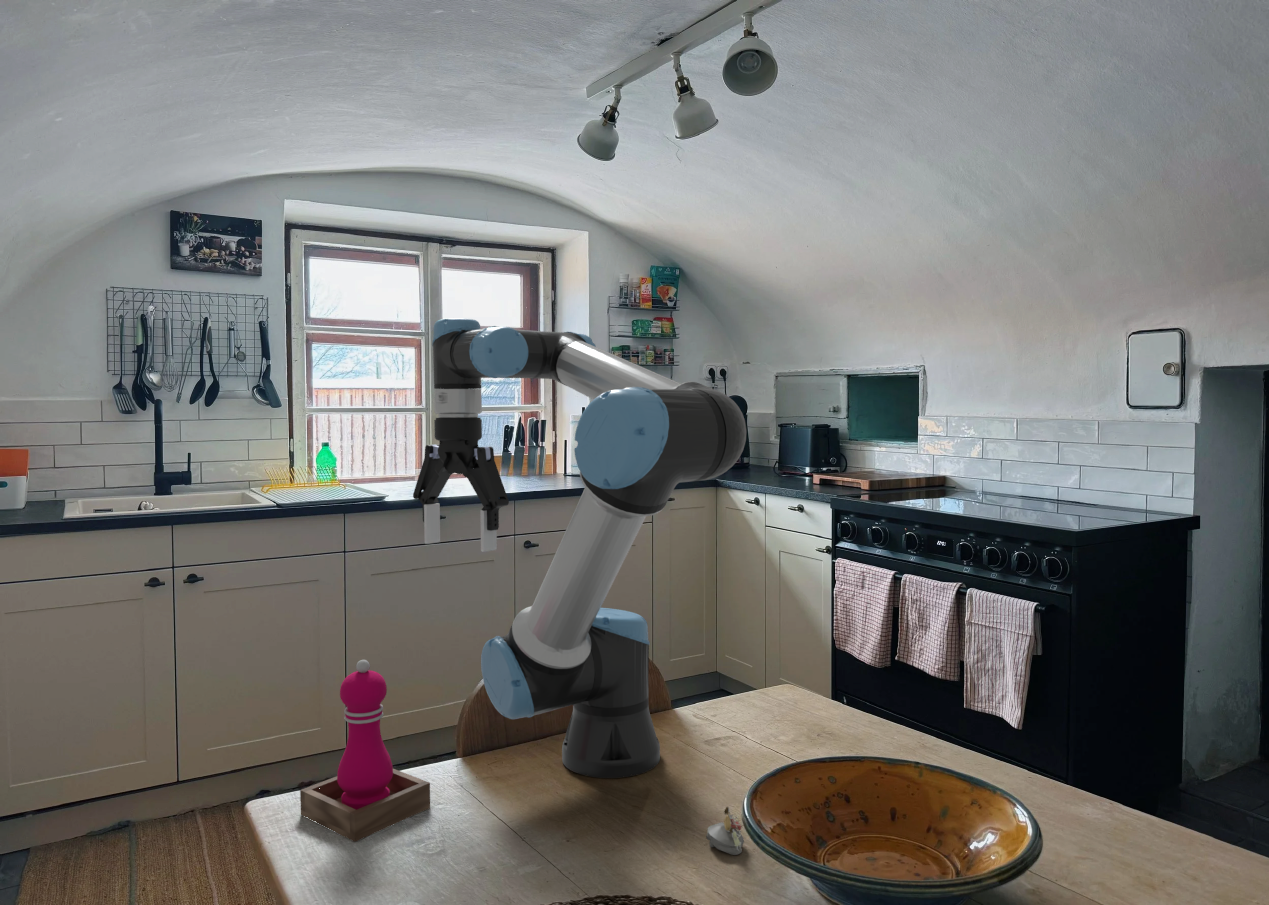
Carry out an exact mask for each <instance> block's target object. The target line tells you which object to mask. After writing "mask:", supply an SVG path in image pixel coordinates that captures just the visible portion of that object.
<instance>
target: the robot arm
mask: <svg viewBox="0 0 1269 905" xmlns="http://www.w3.org/2000/svg"><path fill="white" fill-rule="evenodd" d="M432 337H433V338H432V340H431V341H432V343H431V345H432V357H433V358H432V359H433V360H432V361H433V362H432V363H433V364H432V366H433V367H432V368H433V390H434V392H433V393H434V396H433V399H434V400H433V401H434V413H435V414H436V415H438V417H435V419H434V423H433V425H434V439H435V440H436V441H439V444H426V445H425V448H424V459H423V462H422V466H421V468H420V471H419V474H418V476H417V477H418V478H417V481H416V484H415V488H414V491H413V494H412V497H413V499H414V500H418V501H420V504H422V506H421V507H422V522H423V526H424V527H423V529H424V544H425V545H429V544H436V543H441V509H440V508H441V507H440V503H439V502H440V501H439V499H438V498H439V496H440V495H441V493H442V491H443V490H444V488H445V485H446V484H447V482H448V481H449V479H450V477H451V475H453V474H456V475H462V476H464V477H465V478H467V479H468V480H467V481H468V482H469V483H470V485H471V487H472V489H473V490H474V491H473V492H475V494H476V496H477V498H478V500H479V501H480V503H481V504H482V508H481V509H480V552H483V553H487V552H492V551H497V550H498V548H497V547H498V546H497V544H498V542H497V541H498V536H497V533H498V532H497V530H499V528H500V522H499V518H500V517H499V516H500V515H499V514H500V512H499V511H500V509H501V508H503V507H505V506H508V505H509V503H510V501H509V498H508V495H507V492H506V489H505V486H504V484H503V481H502V478H501V475H500V472H499V469H498V467H497V463H496V462H495V452H494V447H492V446H479V441H480V440H481V439H482V438H483V421H482V420H483V419H481V417H479V414H482V412H483V408H482V406H483V404H482V400H483V398H482V379H491V378H492V379H542V380H543V379H545V380H547V379H548V380H554V381H556V382H557V383H560V384H562V385H563V386H565V387H568V388H570V389H572V390H574V391H576V392H578V393H580V394H581V395H584V396H586V397H588V398H589V399H592V401H590V402H589V404H587V406H586V407H585V409H584V410H583V412H582V414H581V416H580V417H579V420H578V422H577V426H576V428H575V429H576V430H575V434H574V441H575V442H576V443H577V446H576V447H574V449H573V450H574V457H575V460H576V465H577V467H578V470H579V477H580V480H581V483H582V484H583V486H584V489H583V492H582V494H581V496H580V498H579V500H578V502H577V504H576V507H575V509H574V511H573V514H572V516H571V518H570V521H569V522H568V525H567V526H566V530H565V532H564V534H563V536H562V538H561V541H560V542H559V545H558V547H557V549H556V552H555V553H554V557H553V559H552V561H551V563H550V566H549V567H548V570H547V572H546V575H545V576H544V579H543V581H542V583H541V585H540V587H539V590H538V592H537V595H536V596H535V599H534V600H533V604H532V605H531V606H527V607H525V608H523V609H522V610H520V611H519V612H518V613H517V615H516V616H515V617H514V619H513V621H512V624H511V626H510V627H509V631H508V633H507V634H506V635H503V636H500V635H495V636H494V637H493V638H490V639H489V640H487V641H486V642H485V644H484V645H483V647H482V651H481V656H480V667H481V668H480V669H481V675H482V679H483V685H484V688H485V691H486V693H487V696H488V698H489V700H490V702H491V703H492V705H493V707H494V709H495V710H496V711H497V712H498V713H499V714H500V715H502V716H503V717H504V718H507V719H509V720H518V719H522V718H532V717H534V716H536V715H541V714H545V713H548V712H552V711H556V710H560V709H563V708H566V707H569V706H572V713H571V717H570V719H569V723H568V726H567V729H566V733H565V736H564V739H563V742H562V747H561V760H562V764H563V765H564V766H565V767H566V768H567V769H568V770H569V771H572V772H573V773H577V774H578V775H583V776H586V777H591V778H592V777H593V778H599V779H618V778H619V779H620V778H621V779H622V778H628V777H633V776H637V775H641V774H644V773H647V772H649V771H651V770H653V769H654V768H655V767H657V765H658V764H659V763H660V760H661V745H660V741H659V739H658V737H657V734H656V730H655V727H654V723H653V720H652V716H651V714H650V709H649V670H650V669H649V663H650V662H649V659H650V658H649V655H650V648H649V647H650V645H651V643H650V641H649V627H648V622H647V620H646V619H645V618H644V617H643V616H642V615H640V614H638V613H636V612H634V611H633V612H632V611H629V610H624V609H618V608H617V609H616V608H608V607H602V605H603V604H604V602H605V600H606V598H607V595H608V594H609V591H610V589H611V588H612V586H613V584H614V582H615V579H616V577H617V576H618V574H619V571H620V570H621V568H622V565H623V564H624V561H625V559H626V558H627V556H628V554H629V552H630V550H631V548H632V546H633V543H634V541H635V539H636V537H637V535H639V532H640V529H641V527H642V526H643V523H645V522H644V521H645V520H646V517H649V516H655V515H657V514H659V513H660V512H661V511H663V510H664V508H665V507H666V505H667V502H668V501H669V499H670V497H671V496H672V494H673V491H674V489H675V488H676V486H677V485H678V484H679V483H688V482H689V483H690V482H699V481H707V480H711V479H715V478H717V477H719V476H721V475H723V474H724V473H726V472H727V471H728V470H730V469H731V468H732V467H733V466H734V465H735V464H736V463H737V461H738V460H739V459H740V457H741V455H742V453H743V451H744V450H745V449H744V448H745V446H746V441H747V426H746V420H745V418H744V414H743V412H742V411H741V409H740V406H738V404H737V403H736V402H735V401H734V400H733V399H732V398H730V397H729V396H728V395H727V394H726V393H723V392H721V391H719V390H716V389H714V388H711V387H709V386H706V385H704V384H702V383H699V382H696V381H691V380H689V381H684V382H682V383H680V382H677V381H675V380H673V379H671V378H669V377H666V376H664V375H662V374H659V373H656V372H654V371H652V370H650V369H647V368H646V367H643V366H641V365H638V364H636V363H634V362H631V361H629V360H627V359H625V358H623V357H620V356H618V355H615V354H613V353H610V352H608V351H606V350H604V349H601V348H599V347H597V346H596V343H594V342H593V340H592V338H591V336H589V335H586V334H584V333H583V334H582V333H577V332H573V331H541V330H539V331H538V330H530V329H529V330H526V329H525V330H524V329H515V328H512V327H509V326H496V325H493V326H489V327H487V328H481V323H480V322H479V321H478V320H476V319H472V318H441V319H438V320H436V321H435V323H434V324H433V336H432Z"/></svg>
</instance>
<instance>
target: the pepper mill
mask: <svg viewBox="0 0 1269 905" xmlns="http://www.w3.org/2000/svg"><path fill="white" fill-rule="evenodd" d="M370 667H371V664H370V662H369V661H368V660H367V659H361V660H359V661H357V663H356V665H355V669H356V671H353V672H352V673H350V674H348V675H347V676H345V678H344V679H343V680H342V682H341V685H340V689H339V697H340V700H341V702H342V703H343V705H345V709H344V710H343V711H344V714H345V715H344V720H345V722H347V725H348V734H347V742H346V747H345V749H344V752H343V755H342V756H341V758H340V761H339V764H338V768H337V772H336V773H337V775H336V776H337V782H338V785H339V786H340V788H341V789H342V790H343V791H345V792H344V793H343V794H342V797H341V798H342V804H345V805H347V806H349V807H351V808H353V809H356V810H357V809H360V808H362V807H364V806H367V805H369V804H372V803H374V802H376V801H379V800H381V799H383V798H386V797H388V796H390V790H389V788H388V787H386V786H387V785H388V784H389V782H390V781H391V779H392V777H393V769H394V767H393V762H392V759H391V756H390V753H389V751H388V750H387V747H386V745H385V744H384V741H383V738H382V734H381V719H382V718H383V717H384V712H383V710H384V705H383V704H382V702H383V700H384V699H385V698H386V696H387V691H388V688H387V682H386V680H385V677H383V675H381V674H380V673H379V672H378V671H374V670H370Z"/></svg>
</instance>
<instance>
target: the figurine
mask: <svg viewBox="0 0 1269 905" xmlns="http://www.w3.org/2000/svg"><path fill="white" fill-rule="evenodd" d="M723 814H724V815H725V818H724V820H723V822H718V823H715V824H712V825H709V826H708V827H707V833H706V836H705V838H706V839H707V840H708V841H709V842H708V844H709V847H710V848H715V849H717V850H718V851H722V852H724V853H727V854H729V855H731V856H733V855H734V856H737V855H739V854H741V853H742V852H743V851H742V850H743V849H742V847H743V845H744V843H745V840H744V836H743V835H742V831H741V829H742V825H741V823H740V820H739V818H738V817H739V815H736V817H735V815H734V814H731V810H730V807H729V806H725V809H724V812H723Z"/></svg>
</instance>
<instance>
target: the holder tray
mask: <svg viewBox="0 0 1269 905" xmlns="http://www.w3.org/2000/svg"><path fill="white" fill-rule="evenodd" d="M386 787H388V788H389V790H390V796H388V797H386V798H383V799H381V800H379V801H376V802H374V803H372V804H369V805H367V806H364V807H362V808H360V809H357V810H356V809H353V808H351V807H349V806H347V805H345V804H342V798H341V797H342V794H343V793H344V792H345V791H343V790H342V789H341V788H340V786H339V785H338V782H337V775H336V776H333V777H332V778H329V779H326V780H324V781H321V782H317V783H316V784H312V785H310V786H308V787H305V788H301V789H300V791H299V792H300V793H299V794H300V800H299V801H300V816H301V815H303V816H305V817H308V818H309V819H311V820H313V821H316V822H317V823H319V824H321V825H323V826H325V827H327V828H329V829H331V830H333V831H335V832H336V834H337V833H338V835H339V834H340V835H339V836H341V837H343V838H346V839H348V840H350V841H352V842H353V843H357V842H358V841H361V840H363V839H365V838H368V837H369V836H371V835H373V834H374V835H375V834H376V833H378V832H380V831H383V830H385V829H386V828H389V827H391V825H392V826H393V824H394V825H396V824H398V823H400V822H402V820H403V821H405V820H406V819H409V818H411V817H413V816H416V815H418V814H420V813H423V812H425V811H427V810H429V809H431V783H430V782H428V781H426V780H424V779H422V778H419V777H416V776H413V775H411V774H410V773H409V774H408V773H406V772H403V771H400V770H398V769H395V768H393V777H392V779H391V781H390V782H389V784H388V785H387V786H386ZM319 788H320V789H319ZM303 816H302V817H303ZM305 817H304V818H305ZM309 819H308V820H309ZM311 820H310V821H311ZM313 821H312V822H313ZM317 823H316V824H317ZM319 824H318V825H319ZM321 825H320V826H321ZM323 826H322V827H323ZM325 827H324V828H325ZM327 828H326V829H327ZM329 829H328V830H329ZM331 830H330V831H331ZM333 831H332V832H333ZM335 832H334V833H335Z"/></svg>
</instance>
